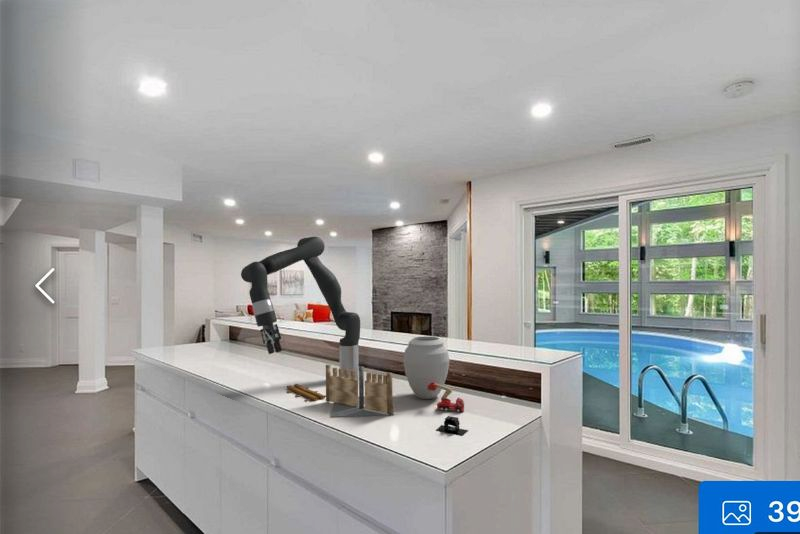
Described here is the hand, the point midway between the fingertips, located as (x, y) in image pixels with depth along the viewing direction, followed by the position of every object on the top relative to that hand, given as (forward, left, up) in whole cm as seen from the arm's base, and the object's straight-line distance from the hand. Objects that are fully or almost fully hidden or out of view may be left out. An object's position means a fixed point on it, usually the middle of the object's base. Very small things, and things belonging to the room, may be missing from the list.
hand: (275, 352), depth 153 cm
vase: (-9, +60, -22) cm, 65 cm away
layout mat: (+1, +34, -21) cm, 40 cm away
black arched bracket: (+28, +63, -22) cm, 73 cm away
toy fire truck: (+8, +65, -22) cm, 69 cm away
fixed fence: (+8, +39, -21) cm, 45 cm away
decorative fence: (-19, +8, -22) cm, 30 cm away
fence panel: (-1, +25, -21) cm, 33 cm away
